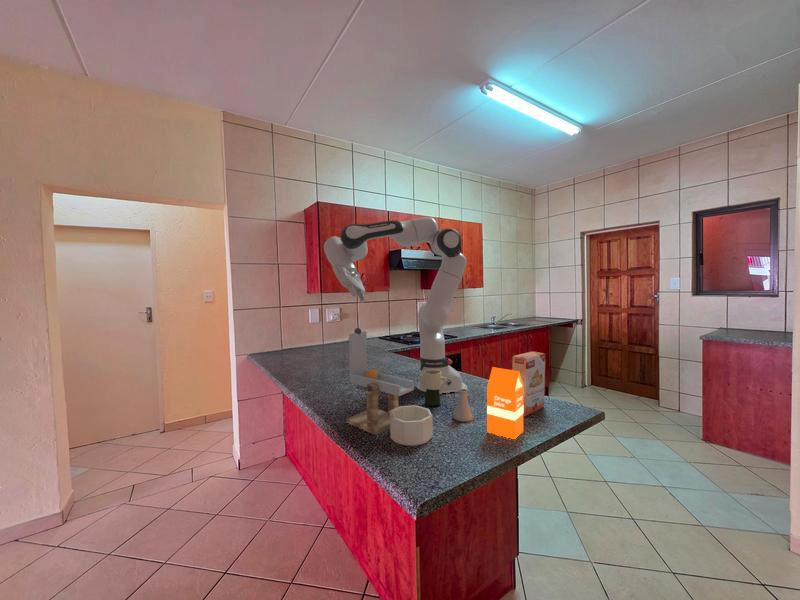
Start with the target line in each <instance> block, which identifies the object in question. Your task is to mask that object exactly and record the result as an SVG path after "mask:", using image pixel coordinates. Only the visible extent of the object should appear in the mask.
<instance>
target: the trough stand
mask: <svg viewBox="0 0 800 600" xmlns="http://www.w3.org/2000/svg"><path fill="white" fill-rule="evenodd" d="M397 407H399V396H397V395H393V394H390V393H387V411H385V410H382V409H379V390H378V384H374V383H369V384H367V391H366V410H364V411H362V412H360V413H357V414H355V415H353V416H350V417H348V418H346V421H345V422H346V424H347V423H349V424H348V425H350V424H351V425H350V426H352V425H353V427H355V426H356V427H355V428H357V427H358V429H361V430H362V429H363V430H362V431H365V432H366V433H367V432H368V433H370V434H372V435H375V436H377V435H379V434H381V433H384V432H386V431H388V430H390V411H391V410H393V409H395V408H397Z"/></svg>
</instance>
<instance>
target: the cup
mask: <svg viewBox="0 0 800 600" xmlns="http://www.w3.org/2000/svg"><path fill="white" fill-rule="evenodd" d="M433 417H434V416H433V413H431V410H430V408H428V407H427V408H426V407H423V406H419V405H417V404H416V405H398V407H397V408H395V409H393V410H391V411H390V428H389V435H390V440H392V441H393V442H394V443H395V444H398V445H402V446H407V447H409V446H411V447H414V446H420V445H423V444H427V443H428V442H429V441H430V440H431V439H432V437H434V433H433V432H434V430H433V427H434V423H433V422H434V421H433V420H434V419H433Z"/></svg>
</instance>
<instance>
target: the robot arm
mask: <svg viewBox="0 0 800 600" xmlns="http://www.w3.org/2000/svg"><path fill="white" fill-rule="evenodd" d="M381 238H391V239H392V240H393V241H395V243H396V244H397V245H399V246H401V247H412V246H416V245H419V244H422V243H425V244H427V247H428V248H429V250H430V252H431V253H432V254H433V255H434V256H436V257H441V265H440V267H439V269H438V271H437V274H436V275H435V278H434V280H433V282H432V285H431V287H430V288H431V289H430V292H429V295H428V298H427V301H426V302H425V303H423V304H422V305H420V307H419V309H418V330H419V342H420V344H419V345H420V348H419V349H420V356H419V361H418V362H419V363H418V364H419V365H418V366H419V375H424V371H425V370H429V369H435V370H440V371H441V372H442V377H446V385H445V386H444V385H442V386H441V388H440V389H439V393H440V395H443V394H442V393H446V394H451V393H450V392H455V393H459V391H458V389H467V390H468V385H467V384H466V383H465V382H463V379H462V376H461V374H460V373H459V371H457V370H456V369H455V368H453V367H452V366H451V365H452V364H453V360H451V358H449V357H446V349H445V348H446V346H445V345H446V341H445V340H446V339H445V335H444V328H443V327H445V325H446V324H447V322H448V321H449V315H450V312H451V310H452V309H451V308H452V305H453V301H454V298H455V295H456V293H457V290H458V289H459V286H460V284H461V282H462V279H463V277H464V273H465V269H466V266H467V257H466V256H465V255H464V254H463V253H461V252H462V236H461V234H460V232H459V231H458V230H456V229H454V228H451V227H450V228H449V227H448V228H447V227H446V228H444V229H442V230H441V229H440V228H439V227H438V223H437V221H436V220H435V218H434V217H431V216H427V217H425V216H424V217H415V218H412V219H407V220H402V221H399V220H386V221H379V222H373V223H367V224H361V223H350V224H348V225H346V226H345V227H343V229H341V231H340V237H338V236H336V235H334V236H330V237H329V238H328V239H326V241H325V242H324V245H323V250H324V253H325V256H326V258H327V260H328V262H329V263H330V264H331V269H332V271H333V273H334V275H335V277H336V279H337V280H338V281H339V283H340V285H341V286H343V287H344V288H346V289H347V290H348V292H349V293H350V294H351V296H352V297H353V298H356V297H357V296H358V299H359V300H360V302H361V303H363V302H365V301H366V298H365V296H364V294H365V293H366V289H365V286H364V284H363V282H362V280H361V278H360V276H361V275H360V272H359V271H358V270H357V268H356V266H355V264H354V262H358V261H360V260H363V259H364V258H366V257H367V255H368V253H369V249H368V241H370V240H375V239H381ZM422 381H424V378H423V377H422ZM442 383H444V379H442ZM416 389H418V390H419V391H421V392H424V393H426V390H427V389H426V388H424V383H420V382H419V381H417V385H416Z"/></svg>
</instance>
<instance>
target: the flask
mask: <svg viewBox="0 0 800 600" xmlns="http://www.w3.org/2000/svg"><path fill="white" fill-rule="evenodd" d="M458 391H459V392H458V393H459V395H458V399H457V402H456V405H455V408H454V410H453V413H452V417H453V420H456V421H458V422H470V421H473V420H475V418H474V415H473V413H472V411H471V407H470V403H469V400H468V391H469V390H468V388H467V389H458Z"/></svg>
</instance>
